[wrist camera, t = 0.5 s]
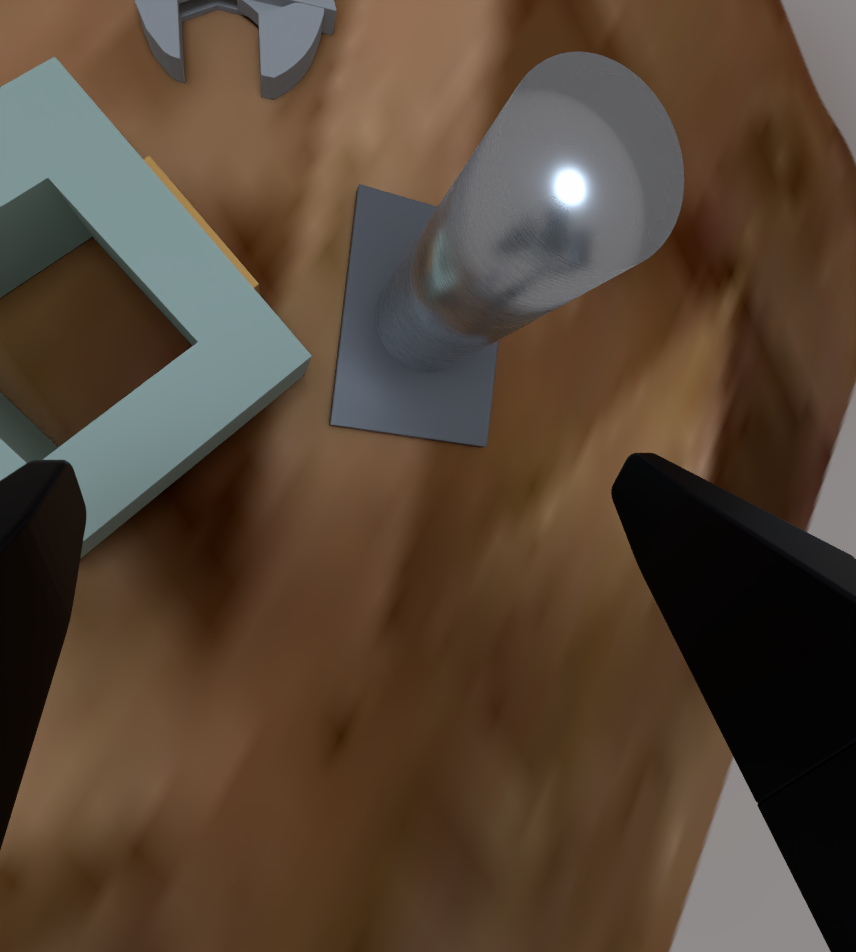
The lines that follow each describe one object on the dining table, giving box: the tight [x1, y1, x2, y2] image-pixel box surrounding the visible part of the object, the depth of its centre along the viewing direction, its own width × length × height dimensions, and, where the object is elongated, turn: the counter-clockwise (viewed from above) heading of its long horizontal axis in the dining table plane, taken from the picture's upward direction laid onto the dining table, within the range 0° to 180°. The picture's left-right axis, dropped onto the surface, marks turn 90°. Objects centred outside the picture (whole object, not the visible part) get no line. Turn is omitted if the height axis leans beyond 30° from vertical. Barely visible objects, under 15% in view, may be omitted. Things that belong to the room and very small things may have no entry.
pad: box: [329, 184, 498, 447], centre depth 22 cm, size 10×7×1 cm
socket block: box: [0, 57, 312, 559], centre depth 17 cm, size 11×11×4 cm
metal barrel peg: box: [376, 52, 684, 372], centre depth 16 cm, size 4×4×12 cm
